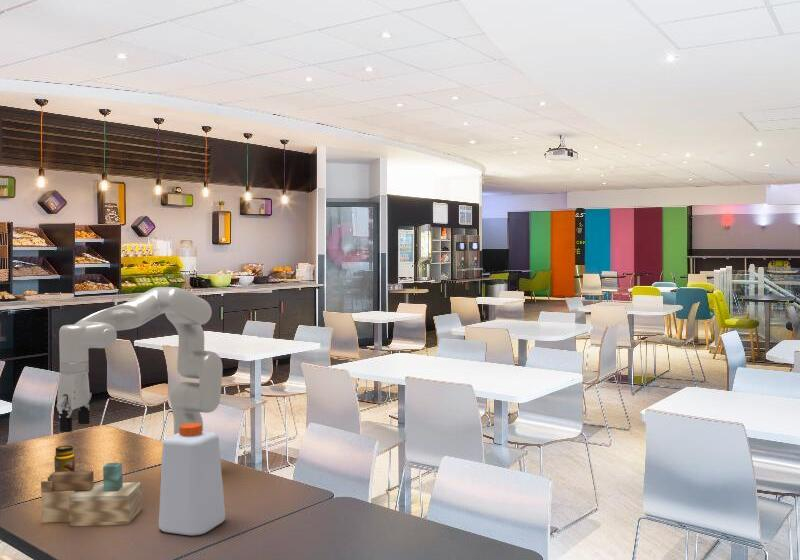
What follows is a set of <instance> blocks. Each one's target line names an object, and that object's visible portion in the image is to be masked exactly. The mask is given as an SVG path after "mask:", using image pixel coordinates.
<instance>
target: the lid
mask: <svg viewBox="0 0 800 560" xmlns="http://www.w3.org/2000/svg"><path fill="white" fill-rule="evenodd" d="M102 472H103V473H102V476H103V477H102V478H103V479H102V480H103V482H99V483H98V482H95V483H94V487H93V488H92V489H90V490H77V491H76V492H74V493H73V494H72V495H71V496H70V497H69V501H99V500H128V499H129V498H130V497H131V496H132V495H133V494H134V493H135V492H136V491H137V490H138V489H139V488H140V487H141V488H142V482H141V481H138V482H137V481H136V482H130V481H129V482H124V481H123V462H107V463H106V464H105V465H103V466H102Z"/></svg>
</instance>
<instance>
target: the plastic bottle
mask: <svg viewBox="0 0 800 560" xmlns="http://www.w3.org/2000/svg"><path fill="white" fill-rule="evenodd" d="M160 470H161V471H160V474H161V475H160V476H161V477H160V490H159V491H160V492H159V509H158V510H159V511H158V515H159V516H158V528H159V530H160V531H162V532H164V533H168V534H175V535H182V536H183V535H185V536H193V537H194V536H201V535H203V534H206V533H207V532H209V531H211V530H213V529H214V528H216V527H218V526H219V525H221V524H222V523H223V522H224V521H225V520H226V509H225V497H224V496H225V495H224V487H223V486H224V485H223V476H222V473H223V472H222V463H221V453H220V442H219V435H218V434H217V433H216V432H211V431H204V430H203V431H202V425H201V424H199V423H187V424H183V425H181V426H180V427H179V433H177V434H175V435H174V434H172V435H170V436H168V437H166V438H165V439H163V442H162V451H161V469H160Z"/></svg>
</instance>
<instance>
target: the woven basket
mask: <svg viewBox="0 0 800 560" xmlns="http://www.w3.org/2000/svg"><path fill="white" fill-rule="evenodd" d="M40 491H41V493H40V495H41V497H40V499H41V500H40V501H41V523H69V527H88V526H89V527H91V526H95V527H97V526H125V525H127V526H128V525H130V524H131V523H132V522H133V520H134V519H136V517H137V515H139V514H140V512H142V486H141V487H140V488H139V489H138V490H137V491H136V492H135V493H134V494H133V495H132V496H131V497H130V498H129V499H128V500H99V501H69V497H70V496H71V495H72V494H73V493H74V492H76V491H77V490H68V491H53V481H50V476H48V477H47V480H46V481H40Z"/></svg>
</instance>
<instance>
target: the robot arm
mask: <svg viewBox="0 0 800 560" xmlns="http://www.w3.org/2000/svg"><path fill="white" fill-rule="evenodd" d="M212 312H213V311H212V307H211V305H210V303H209V302H208V301H207V300H205V299H204V298H201V297H200V296H198V295H195V294H193V293H192V292H189V291H188V290H186V289H183V288H180V287H175V286H174V287H173V286H157V287H153V288H151V289H148V290H147V291H145V292H143V293H141V294H139V295H137V296H136V297H133V298H132V299H130V300H128V301H126V302H124V303H121V304H117V305H114V306H112V307H108V308H105V309H102V310H99V311H97V312H94V313H91V314H89V315H87V316H85V317H84V318H82V319H80V320H78V321H77V322H75V323H74V324H66V325H65V324H64V325H62V326H60V328H59V333H58V336H59V337H58V339H59V341H58V343H59V376H58V377H59V378H58V384H57V397H56V398H57V399H56V405H55V406H56V408H57V414H58V418H59V431H60V432H61V433H72V432H73V417H71V416H72V413H73V411H74V410H76V409H79V410H77V423H78V425H89V424H90V423H91V422H90V410H91V406H90V405H91V403H92V399H91V398H92V392H90V381H89V380H90V379H89V372H90V370H89V368H90V367H89V349H104V348H109V347H111V346H112V345H114V343H115V342H116V340H117V338H118V337H117V335H118V333H117V331H125V330H132V329H135V328H139V327H141V326H143V325H144V324H146V323H147V322H149V321H151V320H153V319H155V318H156V317H158V316H160V315H162V314H165V316H166V318H167V320H168V321H169V322H170V323H171V324H172V325H173V327H174V328H175V329H176V332H177V335H178V336H177V337H178V347H177V348H178V349H177V361H176V370H177V373H178V375H180V376H181V377H183V378H188V379H195V380H198V381H199V382H193V381H181V382H179V383H176V384H175V385H174V386H173V387H172V389H171V391H170V394H169V395H170V396H169V401H170V406H171V411H172V416H173V435H175V434H177V433H179V427H180V426H181V425H183V424H187V423H199V424H201V425H202V431H204V421H203V417H202V414H203V413H204V414H206V413H207V414H208V413H213V412H214V411H215V410H216V409H217V408H218V407H219V404H220V402H221V394H222V384H223V383H222V382H223V370H224V369H223V362H222V359H221V357H220V356H219V354H218V353H216V352H214V351H211V350H205V332H204V329H203V327H202V325H205V324H207V323H209V321H210V319H211V318H212ZM201 413H202V414H201Z"/></svg>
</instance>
